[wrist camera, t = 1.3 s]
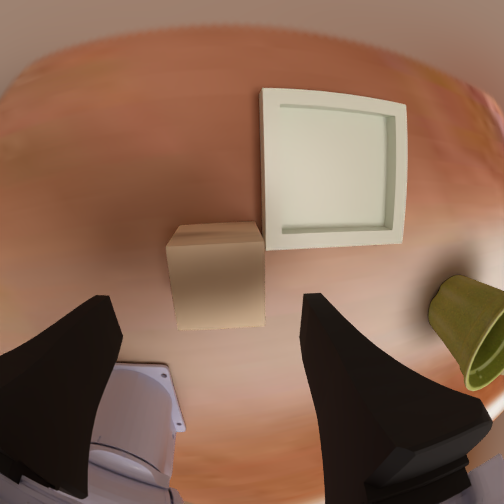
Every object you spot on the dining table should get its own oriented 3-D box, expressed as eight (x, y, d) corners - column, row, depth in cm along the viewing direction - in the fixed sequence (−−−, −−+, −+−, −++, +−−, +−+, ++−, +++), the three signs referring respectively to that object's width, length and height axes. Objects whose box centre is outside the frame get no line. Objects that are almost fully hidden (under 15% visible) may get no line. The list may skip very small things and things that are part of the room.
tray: (389, 236, 20) (401, 243, 19) (262, 242, 20) (266, 250, 18) (392, 107, 17) (405, 104, 16) (258, 94, 16) (262, 88, 15)
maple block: (255, 288, 21) (265, 326, 16) (187, 292, 20) (178, 330, 16) (254, 220, 19) (264, 241, 14) (179, 224, 19) (165, 246, 14)
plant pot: (412, 279, 22) (476, 329, 14) (479, 244, 22) (540, 275, 14) (413, 354, 25) (457, 407, 17) (474, 317, 25) (520, 356, 17)
